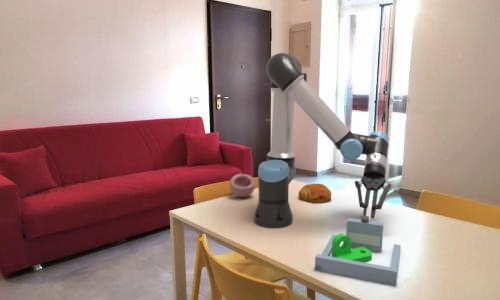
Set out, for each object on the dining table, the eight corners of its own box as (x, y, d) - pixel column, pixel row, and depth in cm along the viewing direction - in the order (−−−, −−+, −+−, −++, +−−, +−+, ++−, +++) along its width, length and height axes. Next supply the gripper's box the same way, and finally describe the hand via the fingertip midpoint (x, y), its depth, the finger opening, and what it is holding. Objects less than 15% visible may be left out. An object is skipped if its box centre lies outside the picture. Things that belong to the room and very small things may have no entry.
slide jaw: (345, 246, 123) (347, 216, 121) (347, 243, 126) (348, 213, 124) (381, 252, 119) (382, 220, 117) (381, 248, 121) (383, 217, 119)
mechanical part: (343, 268, 110) (344, 242, 108) (331, 259, 115) (332, 235, 114) (375, 260, 114) (377, 235, 113) (362, 252, 120) (363, 228, 118)
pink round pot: (232, 201, 172) (231, 177, 170) (228, 194, 183) (227, 171, 181) (257, 199, 174) (257, 175, 172) (252, 192, 186) (251, 170, 184)
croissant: (297, 199, 181) (294, 183, 180) (328, 193, 182) (326, 178, 181) (304, 208, 167) (302, 191, 166) (337, 202, 168) (335, 185, 167)
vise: (314, 269, 108) (315, 256, 108) (332, 238, 130) (332, 227, 129) (395, 285, 99) (396, 271, 99) (400, 249, 121) (401, 237, 120)
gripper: (356, 161, 140) (347, 218, 128) (393, 163, 134) (387, 223, 122) (357, 171, 145) (349, 227, 133) (393, 174, 140) (387, 233, 128)
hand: (367, 225), depth 128 cm, fingers closed
